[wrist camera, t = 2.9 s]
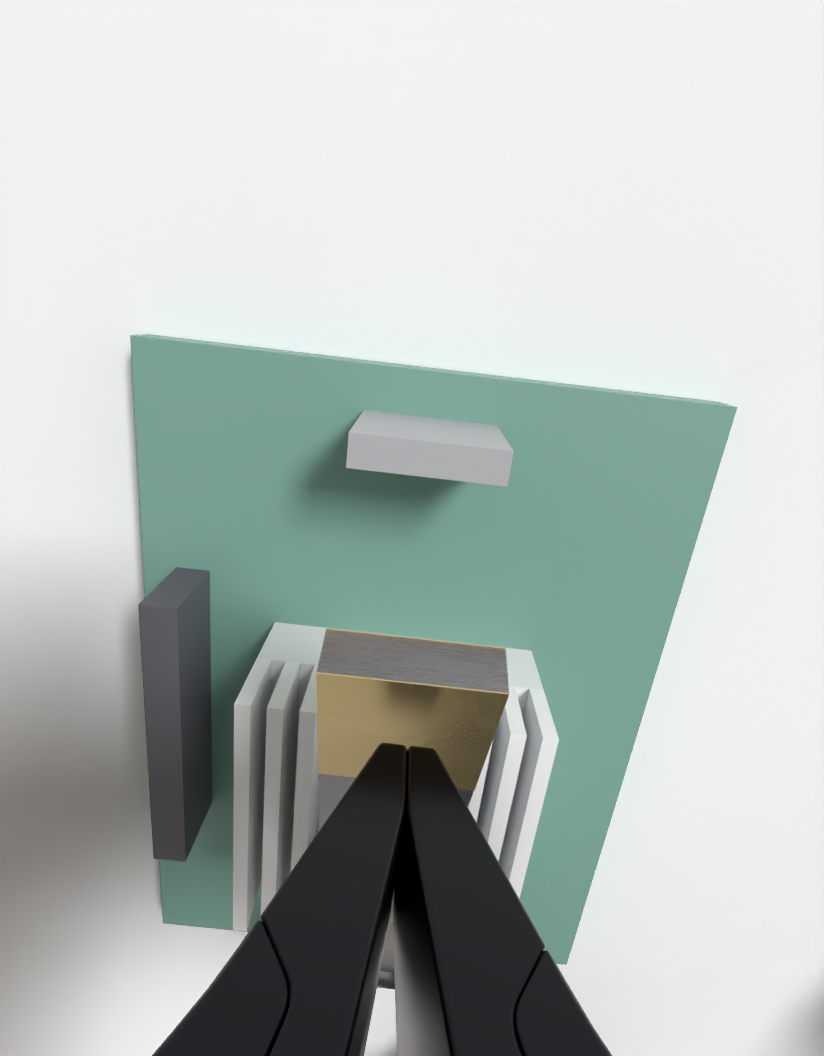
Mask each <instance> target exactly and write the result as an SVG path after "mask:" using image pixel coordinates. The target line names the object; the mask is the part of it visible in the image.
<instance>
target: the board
mask: <svg viewBox="0 0 824 1056" xmlns="http://www.w3.org/2000/svg"><path fill="white" fill-rule="evenodd" d="M130 338H131V356H132V374H133V393H134V411H135V429H136V447H137V465H138V483H139V501H140V519H141V537H142V555H143V573H144V591H145V599H144V600H143V601H142V602H141V603H140V604H139V621H140V638H141V654H142V671H143V688H144V704H145V721H146V738H147V754H148V771H149V788H150V804H151V821H152V838H153V854H154V859H159V862H160V880H161V898H162V916H163V923H167V924H177V925H187V926H197V927H206V928H216V929H226V930H234V931H243V932H249V931H250V930H251V928H252V927H253V925H254V924H255V922H256V921H260V916H261V914H262V913H263V911H264V910H265V908H266V907H267V906H268V904H269V903H270V901H271V900H272V898H273V897H274V895H275V894H276V893H277V891H278V890H279V888H280V887H281V885H282V884H283V882H284V881H285V880H286V878H287V877H288V875H289V874H290V872H291V871H292V869H293V868H294V867H295V865H296V864H297V862H298V861H299V859H300V858H301V856H302V855H303V854H304V852H305V851H306V849H307V848H308V846H309V845H310V843H311V842H312V841H313V839H314V838H315V836H316V835H317V833H318V832H319V780H318V739H317V687H316V672H317V668H318V663H319V659H320V654H321V650H322V646H323V641H324V637H325V632H326V628H332V629H341V630H350V631H359V632H368V633H377V634H386V635H395V636H404V637H413V638H422V639H431V640H440V641H449V642H458V643H467V644H476V645H485V646H494V647H503V648H506V659H507V672H508V685H509V697H508V699H507V702H506V705H505V708H504V710H503V713H502V716H501V719H500V721H499V724H498V727H497V730H496V733H495V735H494V738H493V741H492V744H491V746H490V749H489V752H488V755H487V757H486V760H485V763H484V766H483V768H482V771H481V774H480V777H479V780H478V782H477V785H476V788H475V790H474V792H473V795H472V798H471V801H470V803H469V806H468V808H469V810H470V812H471V814H472V815H473V817H474V819H475V821H476V823H477V824H478V826H479V828H480V830H481V831H482V833H483V835H484V837H485V839H486V840H487V842H488V844H489V846H490V847H491V849H492V851H493V853H494V855H495V856H496V858H497V860H498V862H499V863H500V865H501V867H502V869H503V871H504V872H505V874H506V876H507V878H508V879H509V881H510V883H511V885H512V887H513V888H514V890H515V892H516V894H517V895H518V897H519V899H520V901H521V903H522V904H523V906H524V908H525V910H526V911H527V913H528V915H529V917H530V919H531V920H532V922H533V924H534V926H535V928H536V929H537V931H538V933H539V935H540V936H541V938H542V940H543V942H544V944H545V950H548V951H549V952H550V954H551V955H552V957H553V959H554V961H555V963H556V964H567V961H568V958H569V954H570V951H571V948H572V945H573V941H574V938H575V935H576V932H577V928H578V925H579V922H580V919H581V915H582V912H583V909H584V905H585V902H586V899H587V896H588V892H589V889H590V886H591V883H592V879H593V876H594V873H595V870H596V866H597V863H598V860H599V857H600V853H601V850H602V847H603V843H604V840H605V837H606V834H607V830H608V827H609V824H610V821H611V817H612V814H613V811H614V808H615V804H616V801H617V798H618V795H619V791H620V788H621V785H622V781H623V778H624V775H625V772H626V768H627V765H628V762H629V759H630V755H631V752H632V749H633V746H634V742H635V739H636V736H637V733H638V729H639V726H640V723H641V719H642V716H643V713H644V710H645V706H646V703H647V700H648V697H649V693H650V690H651V687H652V684H653V680H654V677H655V674H656V671H657V667H658V664H659V661H660V657H661V654H662V651H663V648H664V644H665V641H666V638H667V635H668V631H669V628H670V625H671V622H672V618H673V615H674V612H675V609H676V605H677V602H678V599H679V595H680V592H681V589H682V586H683V582H684V579H685V576H686V573H687V569H688V566H689V563H690V560H691V556H692V553H693V550H694V547H695V543H696V540H697V537H698V533H699V530H700V527H701V524H702V520H703V517H704V514H705V511H706V507H707V504H708V501H709V498H710V494H711V491H712V488H713V485H714V481H715V478H716V475H717V471H718V468H719V465H720V462H721V458H722V455H723V452H724V449H725V445H726V442H727V439H728V436H729V432H730V429H731V426H732V423H733V419H734V416H735V413H736V409H737V407H734V406H731V405H727V404H724V403H720V402H714V401H706V400H697V399H689V398H680V397H672V396H663V395H655V394H647V393H638V392H630V391H621V390H613V389H604V388H596V387H588V386H579V385H571V384H562V383H554V382H545V381H537V380H529V379H520V378H512V377H503V376H495V375H486V374H478V373H470V372H461V371H453V370H444V369H436V368H427V367H419V366H411V365H402V364H394V363H385V362H377V361H368V360H360V359H352V358H343V357H335V356H326V355H318V354H309V353H301V352H292V351H284V350H276V349H267V348H259V347H250V346H242V345H233V344H225V343H217V342H208V341H200V340H191V339H183V338H174V337H166V336H158V335H149V334H146V335H130Z"/></svg>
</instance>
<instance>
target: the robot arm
mask: <svg viewBox="0 0 824 1056" xmlns="http://www.w3.org/2000/svg"><path fill="white" fill-rule="evenodd" d="M392 900H393V943H394V972H395V1002H396V1031H397V1056H612V1055H611V1053H610V1052H609V1050H608V1049H607V1047H606V1046H605V1044H604V1043H603V1041H602V1040H601V1038H600V1037H599V1035H598V1034H597V1032H596V1031H595V1029H594V1028H593V1026H592V1024H591V1023H590V1021H589V1019H588V1018H587V1016H586V1014H585V1013H584V1011H583V1009H582V1007H581V1006H580V1004H579V1002H578V1001H577V999H576V997H575V996H574V994H573V992H572V991H571V989H570V987H569V986H568V984H567V982H566V981H565V979H564V977H563V975H562V973H561V972H560V970H559V968H558V966H557V964H556V963H555V961H554V959H553V957H552V955H551V954H550V952H549V951H548V950H545V944H544V942H543V940H542V938H541V936H540V935H539V933H538V931H537V929H536V928H535V926H534V924H533V922H532V920H531V919H530V917H529V915H528V913H527V911H526V910H525V908H524V906H523V904H522V903H521V901H520V899H519V897H518V895H517V894H516V892H515V890H514V888H513V887H512V885H511V883H510V881H509V879H508V878H507V876H506V874H505V872H504V871H503V869H502V867H501V865H500V863H499V862H498V860H497V858H496V856H495V855H494V853H493V851H492V849H491V847H490V846H489V844H488V842H487V840H486V839H485V837H484V835H483V833H482V831H481V830H480V828H479V826H478V824H477V823H476V821H475V819H474V817H473V815H472V814H471V812H470V810H469V808H468V807H467V805H466V803H465V801H464V799H463V798H462V796H461V794H460V792H459V791H458V789H457V787H456V785H455V783H454V782H453V780H452V778H451V776H450V775H449V773H448V771H447V769H446V767H445V766H444V764H443V762H442V760H441V759H440V757H439V755H438V753H437V752H436V750H435V749H433V748H429V747H420V746H410V747H409V748H408V749H407V748H406V746H405V745H401V744H392V743H381V744H379V745H378V747H377V748H376V749H375V751H374V752H373V754H372V755H371V757H370V758H369V760H368V761H367V762H366V764H365V765H364V767H363V768H362V770H361V771H360V773H359V774H358V775H357V777H356V778H355V780H354V781H353V783H352V784H351V786H350V787H349V788H348V790H347V791H346V793H345V794H344V796H343V797H342V799H341V800H340V802H339V803H338V804H337V806H336V807H335V809H334V810H333V812H332V813H331V815H330V816H329V817H328V819H327V820H326V822H325V823H324V825H323V826H322V828H321V829H320V830H319V832H318V833H317V835H316V836H315V838H314V839H313V841H312V842H311V843H310V845H309V846H308V848H307V849H306V851H305V852H304V854H303V855H302V856H301V858H300V859H299V861H298V862H297V864H296V865H295V867H294V868H293V869H292V871H291V872H290V874H289V875H288V877H287V878H286V880H285V881H284V882H283V884H282V885H281V887H280V888H279V890H278V891H277V893H276V894H275V895H274V897H273V898H272V900H271V901H270V903H269V904H268V906H267V907H266V908H265V910H264V911H263V913H262V914H261V916H260V921H256V922H255V924H254V925H253V927H252V928H251V930H250V931H249V933H248V934H247V935H246V937H245V938H244V940H243V941H242V943H241V944H240V946H239V947H238V948H237V950H236V951H235V952H234V954H233V955H232V957H231V958H230V959H229V961H228V962H227V963H226V965H225V966H224V967H223V969H222V970H221V971H220V973H219V974H218V976H217V977H216V978H215V980H214V981H213V982H212V984H211V985H210V986H209V988H208V989H207V990H206V991H205V993H204V994H203V995H202V996H201V998H200V999H199V1000H198V1001H197V1002H196V1004H195V1005H194V1006H193V1007H192V1008H191V1010H190V1011H189V1012H188V1013H187V1015H186V1016H185V1017H184V1018H183V1019H182V1021H181V1022H180V1023H179V1024H178V1026H177V1027H176V1028H175V1029H174V1030H173V1032H172V1033H171V1034H170V1035H169V1036H168V1037H167V1039H166V1040H165V1041H164V1042H163V1043H162V1044H161V1046H160V1047H159V1048H158V1049H157V1050H156V1051H155V1053H154V1054H153V1055H152V1056H364V1052H365V1046H366V1041H367V1036H368V1031H369V1025H370V1020H371V1015H372V1010H373V1004H374V999H375V994H376V989H377V983H378V978H379V973H380V968H381V963H382V957H383V952H384V947H385V942H386V936H387V931H388V926H389V920H390V913H391V907H392Z"/></svg>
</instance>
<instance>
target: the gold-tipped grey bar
mask: <svg viewBox="0 0 824 1056" xmlns="http://www.w3.org/2000/svg"><path fill="white" fill-rule="evenodd" d="M316 687H317V739H318V780H319V830H320V829H321V828H322V826H323V825H324V823H325V822H326V820H327V819H328V817H329V816H330V815H331V813H332V812H333V810H334V809H335V807H336V806H337V804H338V803H339V802H340V800H341V799H342V797H343V796H344V794H345V793H346V791H347V790H348V788H349V787H350V786H351V784H352V783H353V781H354V780H355V778H356V777H357V775H358V774H359V773H360V771H361V770H362V768H363V767H364V765H365V764H366V762H367V761H368V760H369V758H370V757H371V755H372V754H373V752H374V751H375V749H376V748H377V747H378V745H379V744H381V743H392V744H401V745H405V746H406V748H407V749H408V748H409V747H410V746H420V747H429V748H433V749H435V750H436V752H437V753H438V755H439V757H440V759H441V760H442V762H443V764H444V766H445V767H446V769H447V771H448V773H449V775H450V776H451V778H452V780H453V782H454V783H455V785H456V787H457V789H458V791H459V792H460V794H461V796H462V798H463V799H464V801H465V803H466V805H467V807H468V806H469V803H470V801H471V798H472V795H473V792H474V790H475V788H476V785H477V782H478V780H479V777H480V774H481V771H482V768H483V766H484V763H485V760H486V757H487V755H488V752H489V749H490V746H491V744H492V741H493V738H494V735H495V733H496V730H497V727H498V724H499V721H500V719H501V716H502V713H503V710H504V708H505V705H506V702H507V699H508V697H509V685H508V672H507V659H506V648H503V647H494V646H485V645H476V644H467V643H458V642H449V641H440V640H431V639H422V638H413V637H404V636H395V635H386V634H377V633H368V632H359V631H350V630H341V629H332V628H326V632H325V637H324V641H323V646H322V650H321V654H320V659H319V663H318V668H317V672H316ZM377 987H378V988H388V989H395V972H394V943H393V900H392V907H391V913H390V920H389V926H388V931H387V936H386V942H385V947H384V952H383V957H382V963H381V968H380V973H379V978H378V983H377Z"/></svg>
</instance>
